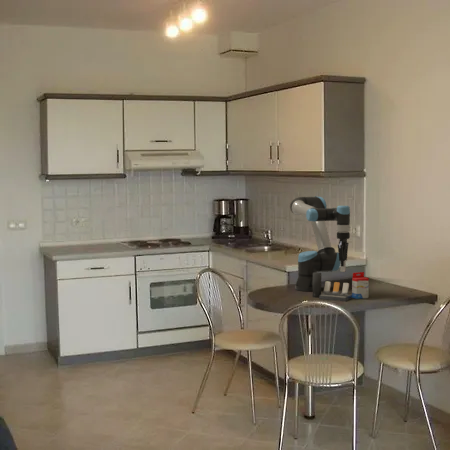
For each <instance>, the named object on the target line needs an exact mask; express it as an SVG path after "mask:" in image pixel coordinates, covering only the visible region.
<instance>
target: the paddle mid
mask: <svg viewBox="0 0 450 450" xmlns="http://www.w3.org/2000/svg"><path fill="white" fill-rule="evenodd" d="M340 286H341V283H340V282H339V281H338V282H337V281H335V282H334V281H333V289H332V293H333V294H340Z"/></svg>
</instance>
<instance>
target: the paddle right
mask: <svg viewBox="0 0 450 450" xmlns="http://www.w3.org/2000/svg"><path fill="white" fill-rule="evenodd" d="M349 287H350V283H348V282H343V284H342V290H341V294H342V295H348V294H349V289H350V288H349Z"/></svg>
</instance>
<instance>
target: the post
mask: <svg viewBox="0 0 450 450" xmlns="http://www.w3.org/2000/svg"><path fill="white" fill-rule="evenodd" d="M321 294H322V272H315V273H313V291H312V298H318V299H319V295H321Z"/></svg>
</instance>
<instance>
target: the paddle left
mask: <svg viewBox="0 0 450 450" xmlns="http://www.w3.org/2000/svg"><path fill="white" fill-rule="evenodd" d="M331 285H332V282H331V281H325V282H324V287H323V293H331Z"/></svg>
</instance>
